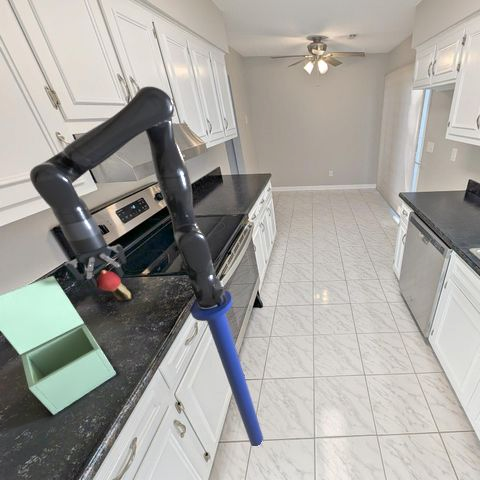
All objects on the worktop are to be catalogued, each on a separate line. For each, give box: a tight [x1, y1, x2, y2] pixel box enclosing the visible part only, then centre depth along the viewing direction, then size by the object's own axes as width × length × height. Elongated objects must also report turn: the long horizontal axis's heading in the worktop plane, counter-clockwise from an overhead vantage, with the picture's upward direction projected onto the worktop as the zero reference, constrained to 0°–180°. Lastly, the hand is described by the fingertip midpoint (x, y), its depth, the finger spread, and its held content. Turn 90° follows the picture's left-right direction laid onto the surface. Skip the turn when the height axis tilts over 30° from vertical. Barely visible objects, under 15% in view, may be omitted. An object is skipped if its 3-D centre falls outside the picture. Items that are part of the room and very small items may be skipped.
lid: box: [0, 275, 85, 356], centre depth 71 cm, size 17×14×1 cm
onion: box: [96, 269, 122, 292], centre depth 80 cm, size 6×6×8 cm
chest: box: [20, 323, 117, 416], centre depth 72 cm, size 16×14×11 cm
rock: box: [111, 282, 132, 301], centre depth 109 cm, size 11×9×10 cm
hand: (109, 281), depth 80 cm, fingers closed on onion, 6 cm apart
